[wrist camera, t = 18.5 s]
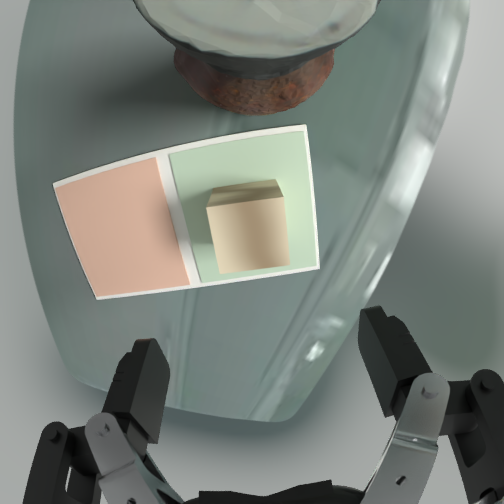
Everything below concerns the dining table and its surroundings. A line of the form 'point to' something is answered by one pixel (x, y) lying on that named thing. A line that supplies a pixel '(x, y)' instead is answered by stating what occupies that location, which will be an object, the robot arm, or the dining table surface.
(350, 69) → the dining table surface
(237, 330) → the dining table surface
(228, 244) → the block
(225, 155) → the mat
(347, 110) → the dining table surface
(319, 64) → the sauce bottle
